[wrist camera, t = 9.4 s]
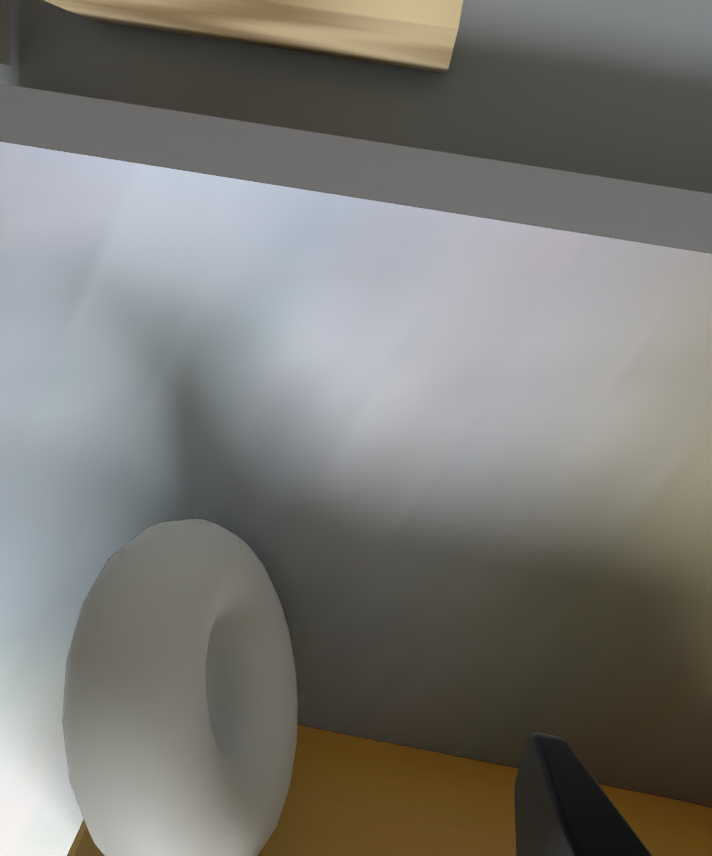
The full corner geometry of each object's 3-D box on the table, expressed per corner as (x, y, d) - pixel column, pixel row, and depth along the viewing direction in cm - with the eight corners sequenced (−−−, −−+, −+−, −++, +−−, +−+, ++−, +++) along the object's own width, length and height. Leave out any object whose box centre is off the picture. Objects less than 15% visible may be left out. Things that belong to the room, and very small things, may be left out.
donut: (148, 474, 23) (-40, 689, 14) (243, 454, 22) (114, 663, 13) (243, 701, 26) (143, 998, 17) (328, 689, 26) (272, 990, 16)
